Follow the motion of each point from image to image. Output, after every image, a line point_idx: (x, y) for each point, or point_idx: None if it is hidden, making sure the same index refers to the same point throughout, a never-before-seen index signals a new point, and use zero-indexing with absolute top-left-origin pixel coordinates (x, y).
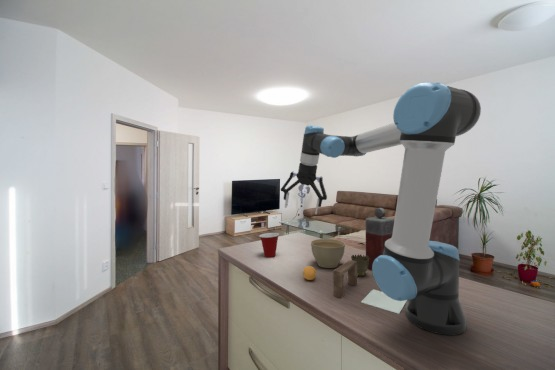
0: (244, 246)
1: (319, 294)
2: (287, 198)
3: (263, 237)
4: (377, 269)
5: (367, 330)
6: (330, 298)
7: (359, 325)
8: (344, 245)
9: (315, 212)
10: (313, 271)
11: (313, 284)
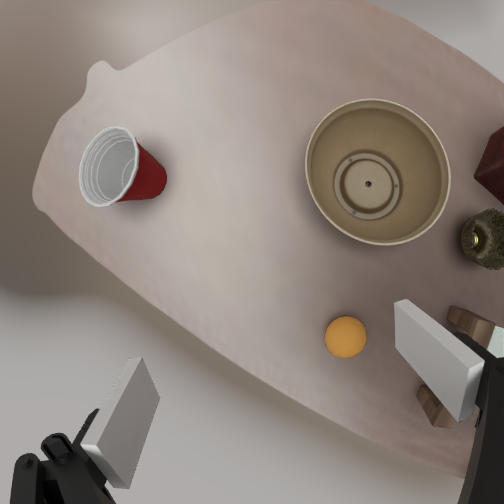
0: (61, 140)
1: (385, 401)
2: (139, 456)
3: (100, 206)
4: None
5: (459, 464)
6: (410, 408)
7: (451, 460)
8: (450, 178)
9: (403, 354)
10: (361, 348)
11: (362, 357)
